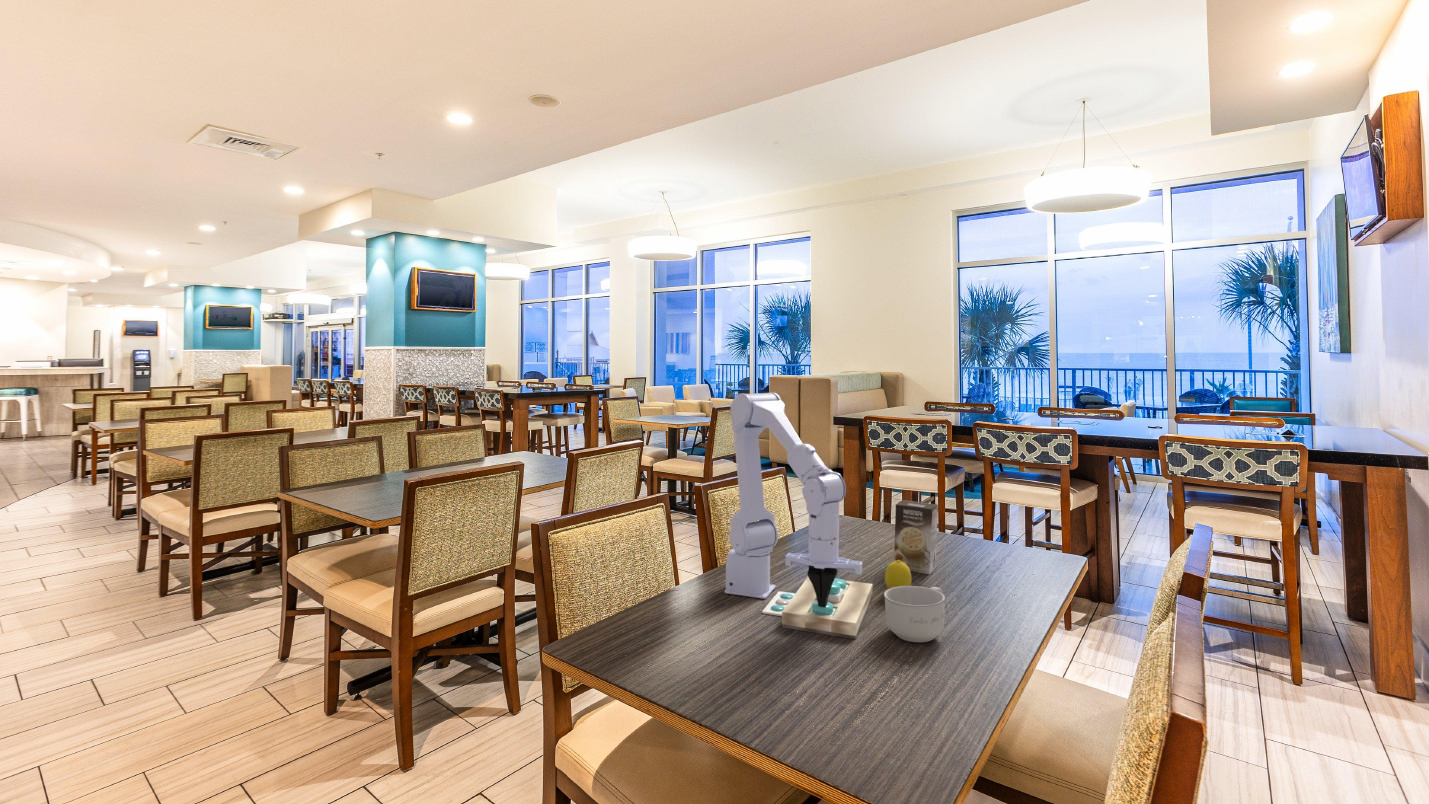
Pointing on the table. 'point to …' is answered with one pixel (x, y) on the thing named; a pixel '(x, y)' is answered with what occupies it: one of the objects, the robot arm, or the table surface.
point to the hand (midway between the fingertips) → (822, 605)
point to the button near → (823, 609)
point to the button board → (840, 624)
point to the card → (778, 603)
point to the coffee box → (916, 535)
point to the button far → (841, 584)
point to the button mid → (835, 593)
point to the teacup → (915, 612)
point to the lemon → (897, 575)
